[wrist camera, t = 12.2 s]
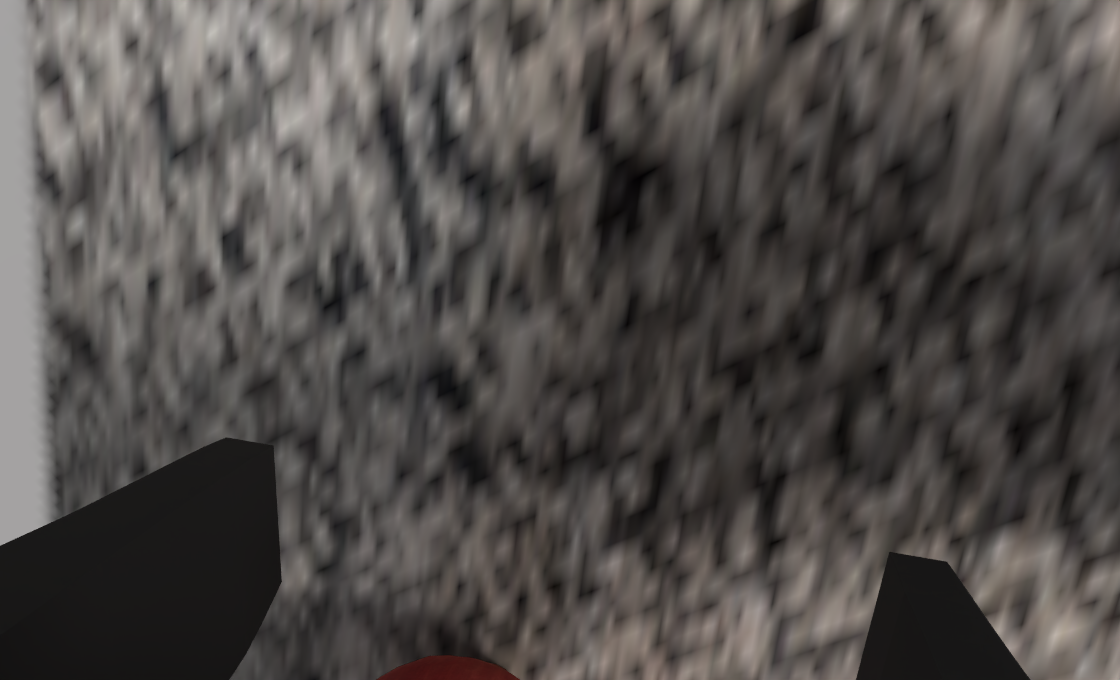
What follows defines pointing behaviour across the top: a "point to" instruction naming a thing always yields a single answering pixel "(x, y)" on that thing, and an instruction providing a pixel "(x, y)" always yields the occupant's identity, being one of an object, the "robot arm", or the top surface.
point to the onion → (448, 670)
